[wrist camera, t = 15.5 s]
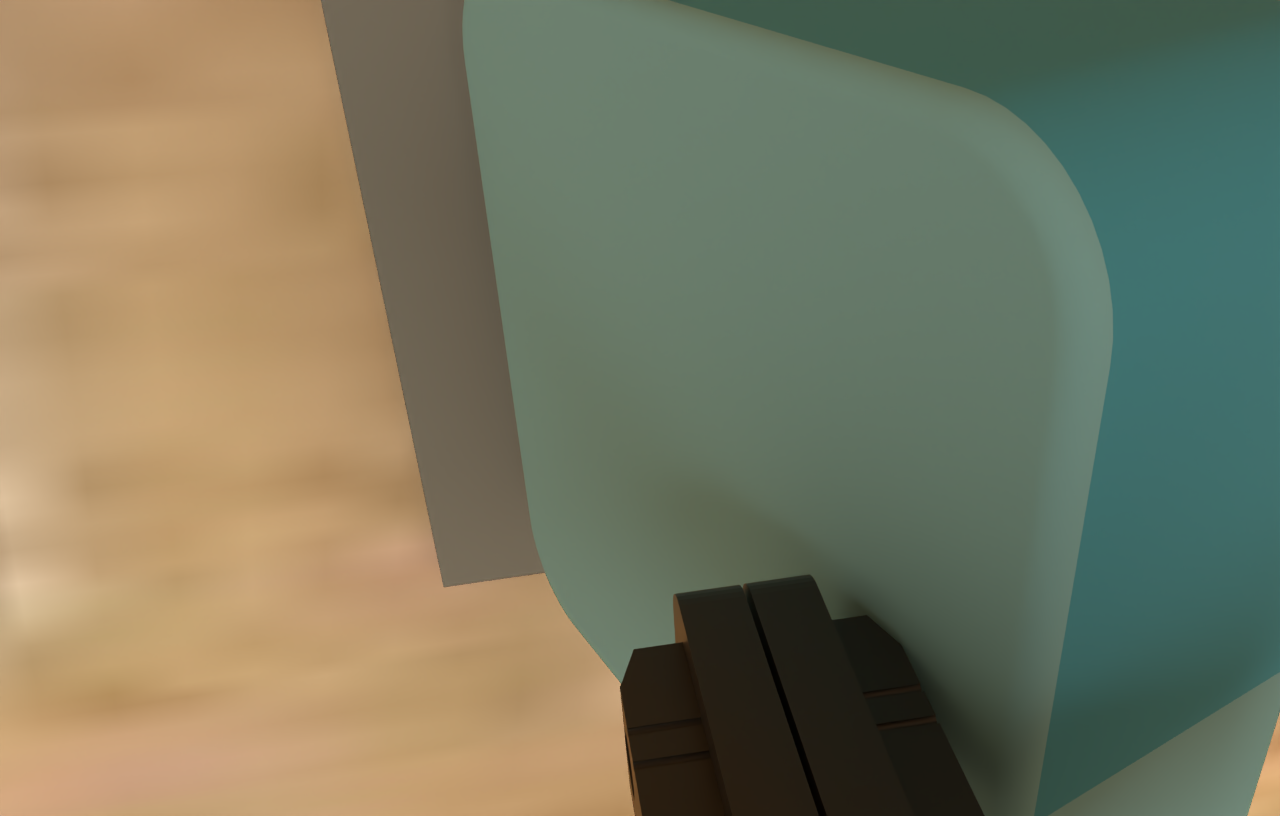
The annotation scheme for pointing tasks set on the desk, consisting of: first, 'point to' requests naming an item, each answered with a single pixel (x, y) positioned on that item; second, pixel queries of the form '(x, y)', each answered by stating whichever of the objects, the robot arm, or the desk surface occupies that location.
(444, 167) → the mat
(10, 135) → the desk surface
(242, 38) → the desk surface
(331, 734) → the desk surface
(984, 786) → the data package
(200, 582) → the desk surface
